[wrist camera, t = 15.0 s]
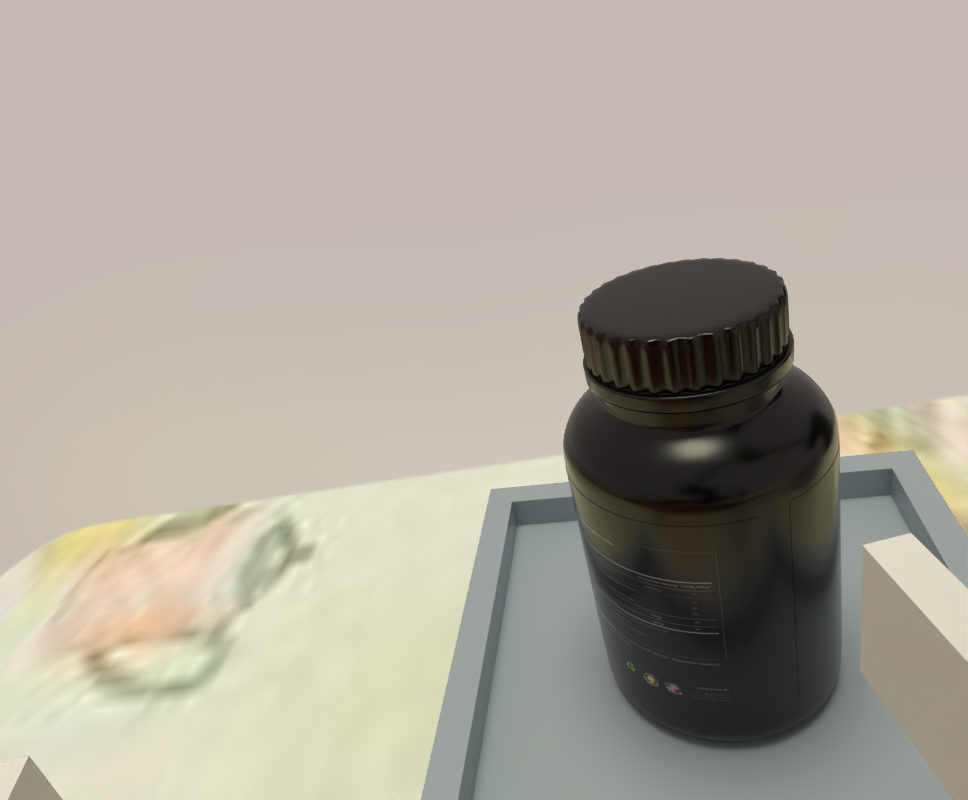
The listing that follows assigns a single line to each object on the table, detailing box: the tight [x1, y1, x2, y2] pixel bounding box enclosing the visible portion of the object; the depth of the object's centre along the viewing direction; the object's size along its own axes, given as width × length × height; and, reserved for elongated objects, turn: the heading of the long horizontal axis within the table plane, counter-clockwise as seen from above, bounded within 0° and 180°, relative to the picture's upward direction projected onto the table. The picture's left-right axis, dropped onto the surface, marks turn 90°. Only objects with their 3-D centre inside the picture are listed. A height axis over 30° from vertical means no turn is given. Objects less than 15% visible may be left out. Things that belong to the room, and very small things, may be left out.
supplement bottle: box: [563, 258, 842, 742], centre depth 21 cm, size 7×7×12 cm
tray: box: [421, 450, 968, 800], centre depth 23 cm, size 16×16×2 cm
